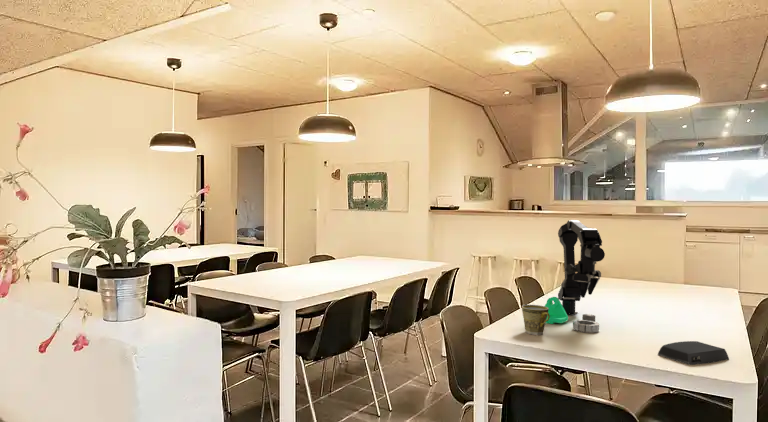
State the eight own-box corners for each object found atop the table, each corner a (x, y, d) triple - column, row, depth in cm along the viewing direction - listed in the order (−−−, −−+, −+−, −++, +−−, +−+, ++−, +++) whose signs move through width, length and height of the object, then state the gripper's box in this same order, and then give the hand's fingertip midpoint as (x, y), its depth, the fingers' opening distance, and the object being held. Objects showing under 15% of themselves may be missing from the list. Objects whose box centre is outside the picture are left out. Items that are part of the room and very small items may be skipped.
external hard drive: (655, 355, 177) (655, 343, 177) (694, 350, 184) (694, 338, 184) (691, 367, 165) (691, 354, 165) (731, 361, 172) (732, 348, 172)
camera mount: (533, 321, 223) (534, 297, 222) (540, 318, 228) (541, 294, 228) (561, 325, 215) (561, 301, 215) (568, 322, 221) (568, 298, 220)
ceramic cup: (515, 330, 204) (516, 305, 204) (536, 328, 208) (536, 303, 208) (537, 339, 192) (538, 312, 192) (559, 337, 196) (559, 310, 196)
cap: (584, 322, 221) (584, 313, 221) (596, 324, 218) (597, 314, 218) (580, 325, 217) (580, 314, 217) (592, 327, 214) (593, 316, 214)
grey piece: (577, 325, 215) (577, 318, 215) (601, 329, 209) (601, 322, 209) (569, 329, 207) (569, 322, 207) (594, 334, 202) (594, 326, 201)
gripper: (575, 255, 229) (574, 290, 229) (560, 258, 214) (559, 296, 215) (602, 257, 222) (600, 294, 222) (588, 261, 207) (586, 300, 208)
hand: (586, 295), depth 217 cm, fingers open, 9 cm apart
